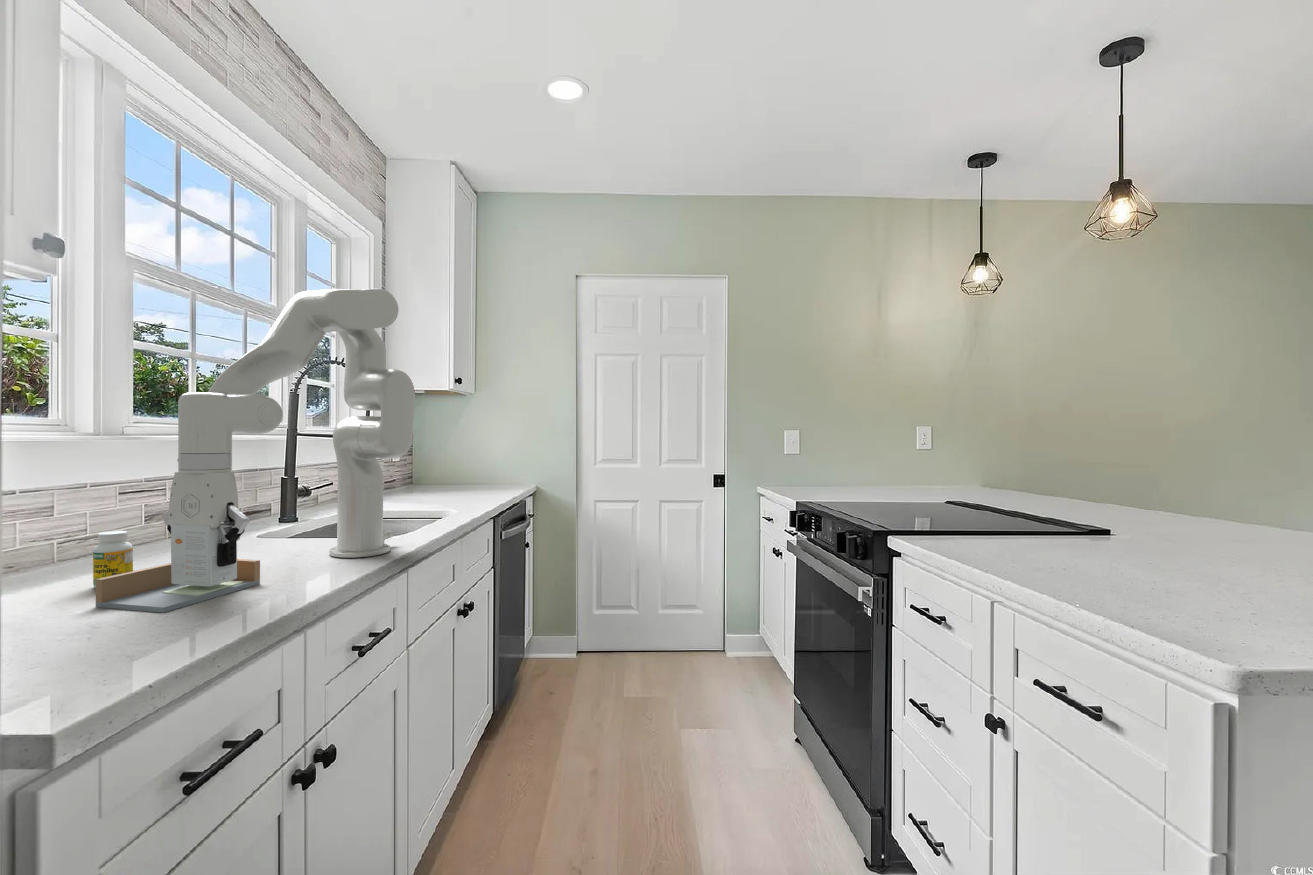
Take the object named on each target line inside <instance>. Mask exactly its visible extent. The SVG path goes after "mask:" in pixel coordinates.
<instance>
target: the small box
mask: <svg viewBox="0 0 1313 875" xmlns="http://www.w3.org/2000/svg"><path fill="white" fill-rule="evenodd" d="M232 523H235V522H233V521H232ZM225 524H230V523H229V522H224V523H223V525H225ZM233 525H234V524H233ZM224 531H225V533H226V534H227V533H228V532H229V528H227V529H224ZM219 543H221V541H220V540H219V538H218V528H217V529H215V530H211V529H210V526H207V525H205V526H196V525H179V524H173V523H172V524H171V534H170V563H171V583H172V584H181V585H195V586H208V587H210V586H213V585H217V584H220V583H224V582H227V581H230V580H234V579H237V559H238V541H236V563H235V564H231V565H227V566H223V567H219V566H218V565H217V545H218V544H219Z"/></svg>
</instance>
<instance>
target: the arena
mask: <svg viewBox="0 0 1313 875" xmlns="http://www.w3.org/2000/svg"><path fill="white" fill-rule="evenodd" d="M230 581H242V582H244V583H241V584H237V585H234V586H230V587H227V588H223V589H220V590H216V591H213V592H209V593H206V594H202V595H199V596H192V595H179V594H166V593H162V592H164V591H168V590H172V589H176V588H180V587H183V586H187V585H181V584H172V583H171V562H168V563H165V564H159V565H156V566H151V567H146V568H142V569H138V570H133V571H132V572H127V573H123V574H118V575H113V576H109V577H104V578H100V579H96V588H95V608H102V609H103V608H104V609H105V608H106V609H116V610H126V611H128V610H129V611H137V612H138V611H141V612H150V613H151V612H153V613H166V612H170V611H173V610H177V609H180V608H183V607H187V606H190V605H194V604H198V603H200V602H204V601H208V600H211V599H213V598H218V597H221V596H224V595H228V594H231V593H233V592H234V593H235V592H239V591H240V590H244V589H248V588H251V587H254V586H259V585H260V584H261V560H260V559H248V558H247V559H246V558H244V559H243V558H237V579H234V580H230Z"/></svg>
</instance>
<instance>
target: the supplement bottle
mask: <svg viewBox="0 0 1313 875" xmlns="http://www.w3.org/2000/svg"><path fill="white" fill-rule="evenodd" d="M128 535H129V534H128V531H126V530H114V531H113V530H112V531H105V532H103V531H102V532H99V533H98V534H97V541H98V544H97V545H95V546H94V547H93V549H92V579H93V580H92V585H93V588H94V589H96V579H100V578H104V577H109V576H113V575H118V574H123V573H127V572H132V571H134V546H133V544H132V543H131V542H129V541H127V540H128V539H129V536H128Z"/></svg>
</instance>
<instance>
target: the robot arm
mask: <svg viewBox="0 0 1313 875" xmlns="http://www.w3.org/2000/svg"><path fill="white" fill-rule="evenodd" d="M398 316H399V305H398V302H397V300H396V298H395V296H394V295H393V294H392V293H391V292H389V291H388V290H386V289H384V288H379V287H378V288H360V289H358V288H357V289H356V288H355V289H351V288H350V289H347V288H346V289H345V288H344V289H342V288H341V289H340V288H338V289H337V288H334V289H333V288H332V289H320V290H319V289H318V290H316V289H315V290H306V291H305V290H304V291H301V292H298V293H296V294H295V295H293V297H292V298H290V299H289V301H288V303H287V304H286V306H285V307H284V308H283V310H282V311H281V313H280V315H279V316H278V317H277V319H276V320H275V321H274V323H273V325H272V327H271V328H270V330H269V331H268V333H266V336H265V337H264V339H263V340H262V341H261V343H259V344H258V345H256V346H255V347H253V348H252V349H250V350H248V352H247V353H245V354H244V355H243V356H241V357H240V358H239V359H237V360H235V361H234V362H233V363H232V364H230V365H229V366H228V367H226V368H225V369H224V370H223V371H222V372H221V373H220V374H219V375H218V377H217V378H216V379H215V380H214V382H213V383H212V385H211V386H210V388H209V389H208V391H207V392H203V391H202V392H199V391H197V392H194V391H193V392H192V391H191V392H185V393H182V394H181V395H180V396H179V397H178V402H177V404H178V405H177V407H178V408H177V409H178V411H177V424H178V426H177V427H178V428H177V429H178V431H177V432H178V434H177V437H178V439H177V442H178V447H177V450H178V451H177V452H178V455H177V464H178V465H177V471H174V475H173V478H172V483H171V487H170V493H169V503H168V511H167V512H165V513H164V514H163V515H162V520H163V522H164V524H165V525H166V530H167V532H169V534H170V535H171V524H172V523H173V524H179V525H196V526H205V525H207V526H210V529H211V530H215V529H217V528H218V538H219V540H220V541H221V543H219V544H218V545H217V565H218V566H219V567H223V566H227V565H231V564H235V563H236V541H237V542H238V541H240V539H241V536H242V535H243V534H244V533H245V530H246V528H247V526H248V524H249V522H250V521H251V520H250V517H248V515H246V514H245V513H243V512H242V511H241V510H240V509H239V496H238V493H239V492H238V487H237V486H238V485H237V482H236V481H237V480H236V476H235V471H233V435H238V434H239V435H263V434H268V433H270V432H273V431H274V430H276V429H277V428H278V427H279V425H281V423H282V420H283V417H284V415H283V408H282V406H281V405H280V404H279V402H278V401H277V400H275V399H274V398H272V397H270V396H268V395H265V394H259V393H257V392H259V391H260V390H262V389H263V388H264V387H266V386H268V385H269V384H271V383H273V382H276V381H278V380H280V379H283V378H286V377H289V376H291V375H293V374H295V373H297V372H299V371H301V370H302V369H304V368H305V367H306V366H307V365H308V363H309V362H310V359H311V358H312V356H313V354H314V353H315V351H316V349H317V348H318V347H319V344H320V342H321V341H322V340H323V338H324V336H325V335H326V334H327V333H330V332H337V333H338V335H339V336H340V337H341V339H342V341H343V344H344V348H345V363H344V364H345V367H344V378H343V380H344V381H343V399H344V402H345V404H346V405H347V406H348V407H350V408H351V409H353V410H356V411H371V412H372V411H375V412H377V411H379V412H380V416H375V415H374V416H373V415H370V416H369V415H367V416H366V415H356V416H354V415H353V416H349V417H346V418H344V419H341V421H339V422H338V423H337V424H336V426H335V427H334V429H333V433H332V442H333V448H334V454H335V457H336V465H337V510H336V512H337V514H336V515H337V516H336V518H337V520H336V524H337V526H336V528H337V529H336V534H337V535H336V537H337V538H336V546H334V547H331V548H329V550H328V551H329V552H328V553H329V556H331V557H333V558H342V559H344V558H345V559H346V558H350V559H352V558H353V559H354V558H366V557H367V558H368V557H374V556H375V557H376V556H379V555H384V554H386V553H388V552H389V553H390V550H391V546H390V544H386V543H385V541H386V540H389V539H391V538H393V536H394V532H393V530H390V529H389V530H384V473H383V470H382V467H381V465H380V462H379V461H378V459H399V458H401V457H403V456H405V455H406V454H407V453H408V451H409V450H410V448H411V446H412V442H413V433H414V432H413V431H414V422H415V420H414V418H415V406H416V405H415V404H416V392H415V387H414V386H415V385H414V384H413V381H412V379H411V377H410V376H409V375H408V374H407V373H406V372H405V371H402V370H400V369H396V368H395V369H393V368H392V369H391V368H387V350H386V346H385V343H384V340H382V338H381V336H380V335H379V333H378V332H377V331H376V329H381V328H382V329H383V328H388V327H390V326H391V325H394V323H395V321H396V320H397V318H398ZM232 521H233V522H235V523H232ZM224 522H229V523H230V524H225V525H223V523H224ZM233 524H234V525H233ZM227 528H229V532H228V533H227V534H226V533H225V531H224V529H227Z"/></svg>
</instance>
